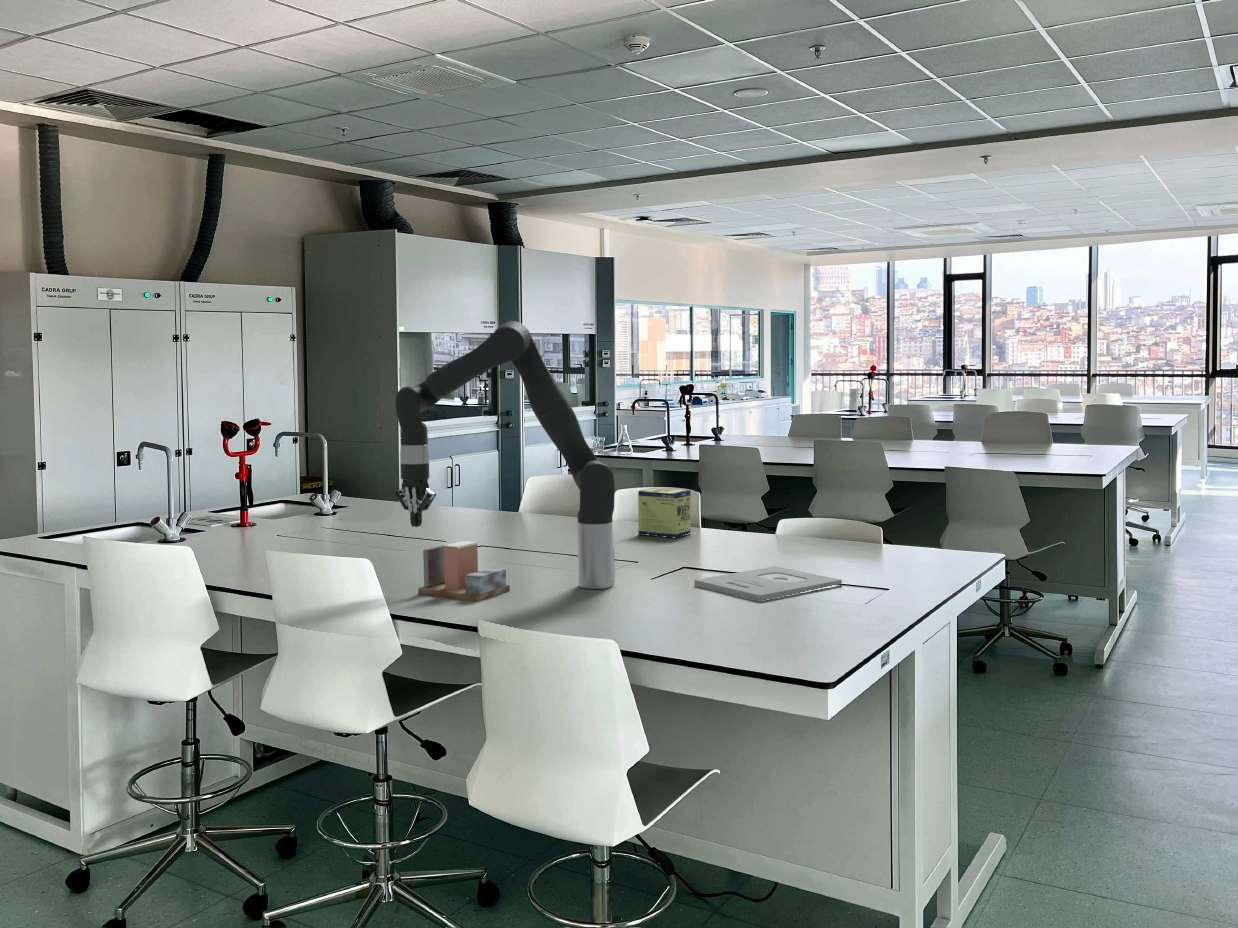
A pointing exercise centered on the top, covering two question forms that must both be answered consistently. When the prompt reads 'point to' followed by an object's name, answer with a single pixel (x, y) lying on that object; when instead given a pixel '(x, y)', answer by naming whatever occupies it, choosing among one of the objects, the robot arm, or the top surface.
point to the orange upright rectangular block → (459, 563)
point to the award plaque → (766, 583)
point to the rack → (473, 586)
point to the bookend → (434, 566)
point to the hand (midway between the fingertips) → (416, 526)
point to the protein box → (664, 512)
